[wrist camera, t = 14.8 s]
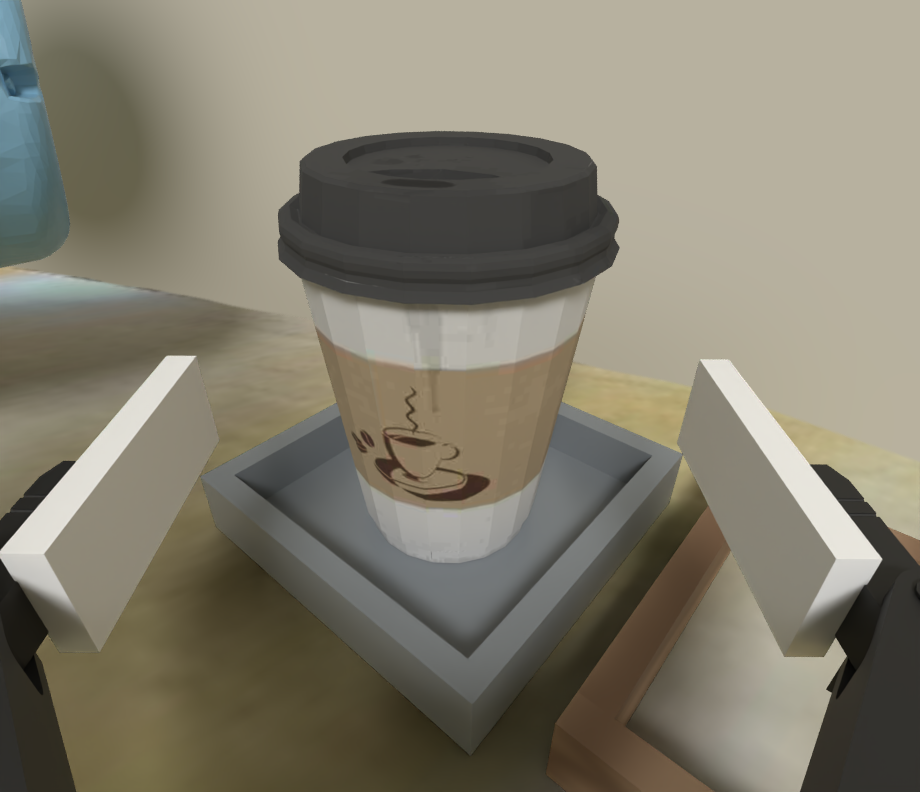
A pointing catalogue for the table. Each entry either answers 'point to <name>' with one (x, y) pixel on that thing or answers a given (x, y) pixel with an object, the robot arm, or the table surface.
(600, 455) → the tray
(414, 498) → the coffee cup
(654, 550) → the table surface
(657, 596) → the collar
